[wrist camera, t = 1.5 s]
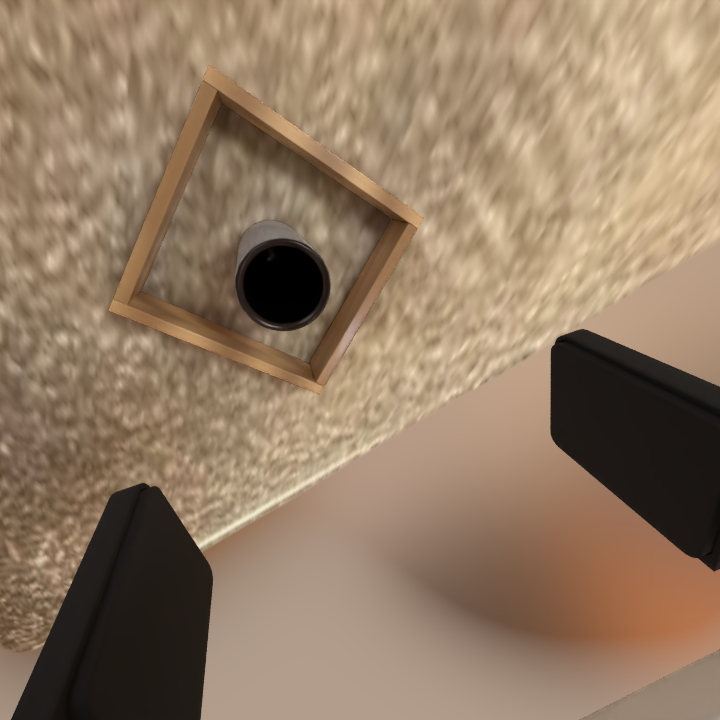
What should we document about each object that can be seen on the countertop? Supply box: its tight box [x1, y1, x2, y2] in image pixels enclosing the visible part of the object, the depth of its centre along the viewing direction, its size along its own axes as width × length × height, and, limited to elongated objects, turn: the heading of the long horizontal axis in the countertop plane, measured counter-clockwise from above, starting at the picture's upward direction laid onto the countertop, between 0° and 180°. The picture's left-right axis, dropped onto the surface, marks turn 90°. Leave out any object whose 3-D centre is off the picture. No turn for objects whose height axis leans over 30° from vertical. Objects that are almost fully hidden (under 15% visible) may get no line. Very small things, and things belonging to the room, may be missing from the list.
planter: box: [235, 220, 331, 331], centre depth 23 cm, size 4×4×10 cm
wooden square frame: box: [109, 65, 424, 394], centre depth 26 cm, size 15×15×4 cm
